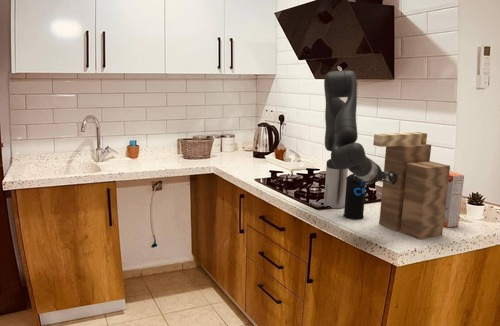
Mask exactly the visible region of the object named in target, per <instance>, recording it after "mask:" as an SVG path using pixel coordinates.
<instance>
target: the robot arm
mask: <svg viewBox="0 0 500 326" xmlns="http://www.w3.org/2000/svg"><path fill="white" fill-rule="evenodd" d="M323 82H324V83H323V84H324V85H323V88H324V89H323V90H324V98H325V113H324V115H325V116H324V118H325V119H324V121H325V134H324V147H325V150H326V151H328V152H330V159H327V160H326V167H325V168H326V169H325V170H326V171H325V183H324V194H323V195H324V196H323V207H327V206H330V207H331V209H342V208H344V207H345V194H346V181H347V180H346V178H347V177H348V171H349V172H351V174H354V179H355V180H357V181H358V182H361V181H363V182H364V183H366V185H367V184H368V185H373V184H375V183H378V182H381V183H383V182H390V183H391V184H392V185H394V183H395V182H397V177H398V175H397V174H396V173H394V172H393V171H389V173H387V172H384V170H383V169H382V168H381V167H380V165H379V164H377V162H375V161H374V160H373V159H371V158H370V157H368V156H366V150H365V148H364V147H363V145H362V144H361V143H359V142H357V140H358V136H359V135H358V127H357V126H358V125H357V107H358V106H357V105H358V103H357V101H358V99H357V97H358V80H357V76H356V73H355V71H353V70H335V71H334V70H333V71H329V72H327V73H326V74H325V77H324V80H323ZM342 98H347V99H346V101H344V100H343V99H342ZM382 170H383V171H382ZM388 177H389V180H388ZM383 179H384V180H383ZM330 207H329V208H330Z"/></svg>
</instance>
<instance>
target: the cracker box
mask: <svg viewBox="0 0 500 326" xmlns="http://www.w3.org/2000/svg"><path fill="white" fill-rule="evenodd" d="M464 182H465V175H464V174H461V173H457V172H454V171H451V170H450V172H449V180H448V189H447V197H446V206H445V214H444V223H443V228H454V227H459V223H460V214H461V205H462V198H463V189H464Z"/></svg>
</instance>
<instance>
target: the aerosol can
mask: <svg viewBox="0 0 500 326" xmlns="http://www.w3.org/2000/svg"><path fill="white" fill-rule="evenodd" d="M346 180H347V181H346V194H345V207H343V208H344V209H343V217H344V218H346V219H348V220H362V219H364V217H365V216H364V210H365V200H366V199H365V198H366V188H367V187H366V185H367V183H364V182H363V181H361V182H358V181H357V180H355V179H354V174H353V173H351V174H349V175H347V178H346Z"/></svg>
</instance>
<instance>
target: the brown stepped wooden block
mask: <svg viewBox="0 0 500 326" xmlns="http://www.w3.org/2000/svg"><path fill="white" fill-rule="evenodd" d="M431 152H432V144H429V143H426V144H418V145H402V146H387V147H385V154H384V155H385V156H384V166H383V172H387V173H389V171H393V172H394V173H396V174H397V175H398V177H397V182H395V183H394V185H392V184H391V183H390V182H382V189H381V198H380V199H381V200H380V209H379V210H380V211H379V220H378V221H379V222H378V224H379V225H380V226H383V227H386V228H387V229H390V230H393V231H395V232H400V233H402V234H405V235H407V236H410V237H411V238H412V237H413V238H415V239H417V240H423V239H427V238H434V237H438V236H443V230H444V226H443V223H444V214H445V206H446V197H447V189H448V180H449V172H450V171H451V170H450V169H451V165H448V164H444V163H439V162H434V161H431ZM382 180H384V179H382ZM388 180H389V177H388Z"/></svg>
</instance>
